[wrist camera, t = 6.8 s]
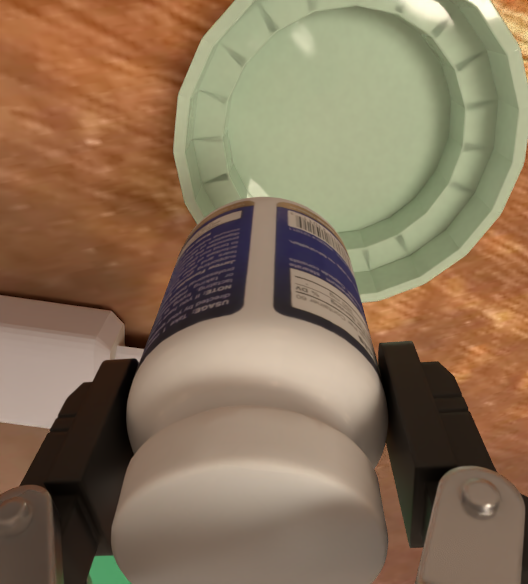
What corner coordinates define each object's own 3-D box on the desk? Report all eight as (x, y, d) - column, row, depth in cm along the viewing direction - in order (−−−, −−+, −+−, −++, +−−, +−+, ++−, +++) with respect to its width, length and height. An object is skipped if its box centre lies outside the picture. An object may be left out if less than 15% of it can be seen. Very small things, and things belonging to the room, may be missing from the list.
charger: (189, 407, 42) (8, 383, 41) (198, 317, 37) (-7, 288, 36) (179, 452, 38) (-23, 426, 37) (187, 357, 33) (-43, 325, 32)
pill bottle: (192, 343, 18) (114, 643, 10) (168, 195, 16) (26, 440, 7) (349, 338, 18) (407, 646, 10) (353, 186, 15) (443, 433, 7)
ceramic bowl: (212, -77, 25) (194, -96, 20) (539, -6, 26) (602, -6, 21) (180, 233, 34) (161, 276, 29) (425, 277, 35) (450, 326, 30)
